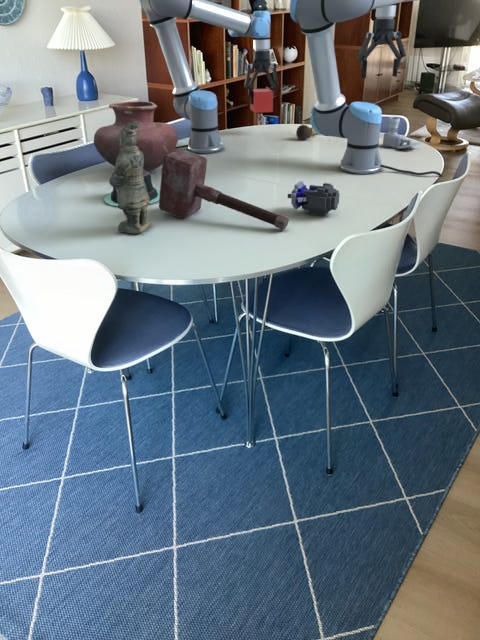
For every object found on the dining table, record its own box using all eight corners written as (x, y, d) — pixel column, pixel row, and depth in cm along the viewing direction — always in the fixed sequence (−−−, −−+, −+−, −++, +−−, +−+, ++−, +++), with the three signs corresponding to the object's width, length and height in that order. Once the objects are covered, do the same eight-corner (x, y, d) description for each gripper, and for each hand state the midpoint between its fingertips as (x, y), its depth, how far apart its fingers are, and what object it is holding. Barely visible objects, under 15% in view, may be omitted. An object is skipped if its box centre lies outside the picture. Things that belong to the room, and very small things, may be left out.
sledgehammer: (299, 190, 156) (179, 147, 167) (285, 200, 148) (161, 154, 160) (286, 244, 166) (174, 200, 177) (272, 256, 158) (156, 209, 170)
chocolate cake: (91, 202, 180) (113, 186, 197) (142, 231, 182) (160, 212, 199) (107, 162, 172) (129, 148, 190) (160, 192, 174) (177, 176, 192)
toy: (295, 178, 172) (342, 184, 166) (295, 205, 177) (340, 211, 171) (285, 186, 166) (333, 192, 160) (284, 213, 170) (331, 220, 164)
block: (267, 108, 267) (267, 88, 262) (272, 111, 259) (273, 91, 255) (250, 109, 265) (250, 89, 261) (254, 112, 258) (254, 92, 253)
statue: (131, 220, 168) (117, 116, 152) (158, 224, 164) (147, 118, 149) (109, 233, 159) (93, 124, 144) (138, 237, 156) (124, 126, 140)
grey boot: (392, 115, 240) (425, 120, 231) (389, 143, 246) (420, 148, 237) (382, 118, 234) (415, 123, 226) (379, 146, 240) (410, 152, 232)
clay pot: (187, 162, 225) (183, 96, 212) (166, 184, 199) (159, 111, 187) (116, 160, 230) (108, 96, 217) (87, 181, 204) (75, 110, 192)
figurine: (338, 121, 266) (314, 124, 247) (336, 138, 269) (312, 141, 250) (313, 119, 272) (288, 121, 253) (312, 135, 275) (287, 138, 256)
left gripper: (282, 48, 254) (281, 100, 266) (236, 50, 250) (237, 103, 262) (287, 49, 248) (285, 103, 259) (240, 51, 244) (241, 105, 255)
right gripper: (409, 16, 222) (403, 74, 232) (351, 18, 217) (347, 77, 228) (419, 17, 215) (411, 76, 226) (359, 19, 211) (354, 79, 221)
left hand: (261, 103), depth 261 cm, fingers closed on block, 9 cm apart
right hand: (379, 77), depth 227 cm, fingers open, 13 cm apart
